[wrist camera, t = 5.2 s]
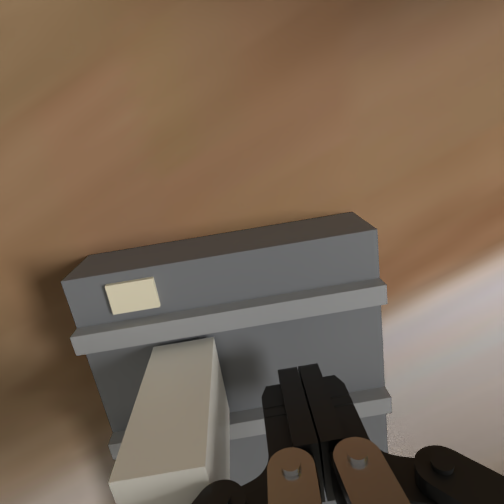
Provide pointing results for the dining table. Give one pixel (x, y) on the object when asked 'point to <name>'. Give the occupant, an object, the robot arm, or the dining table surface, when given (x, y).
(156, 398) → the cream rectangular prism
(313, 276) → the panel
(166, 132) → the dining table surface
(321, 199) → the dining table surface
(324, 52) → the dining table surface
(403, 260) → the dining table surface
